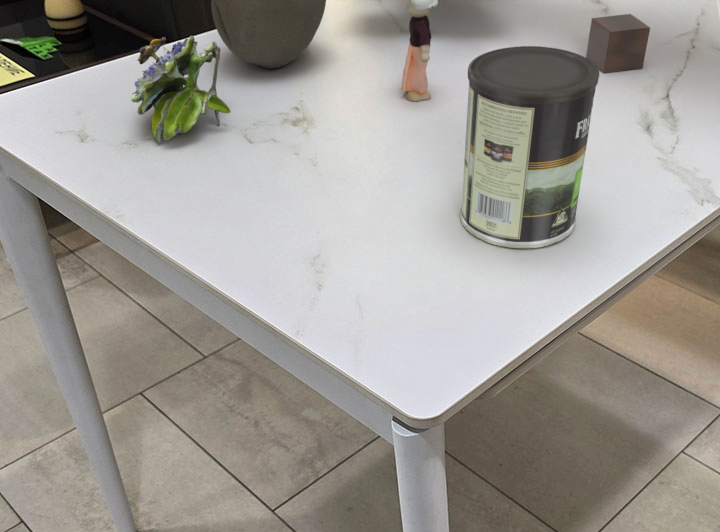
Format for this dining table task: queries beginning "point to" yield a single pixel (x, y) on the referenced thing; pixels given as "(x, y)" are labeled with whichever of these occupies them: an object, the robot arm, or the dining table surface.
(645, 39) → the walnut block
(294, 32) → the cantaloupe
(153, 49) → the passion flower
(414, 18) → the grandmother figurine
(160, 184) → the dining table surface
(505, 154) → the coffee can
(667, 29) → the dining table surface
